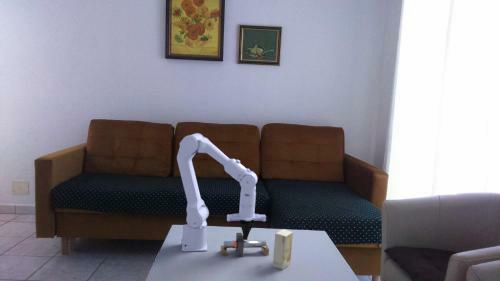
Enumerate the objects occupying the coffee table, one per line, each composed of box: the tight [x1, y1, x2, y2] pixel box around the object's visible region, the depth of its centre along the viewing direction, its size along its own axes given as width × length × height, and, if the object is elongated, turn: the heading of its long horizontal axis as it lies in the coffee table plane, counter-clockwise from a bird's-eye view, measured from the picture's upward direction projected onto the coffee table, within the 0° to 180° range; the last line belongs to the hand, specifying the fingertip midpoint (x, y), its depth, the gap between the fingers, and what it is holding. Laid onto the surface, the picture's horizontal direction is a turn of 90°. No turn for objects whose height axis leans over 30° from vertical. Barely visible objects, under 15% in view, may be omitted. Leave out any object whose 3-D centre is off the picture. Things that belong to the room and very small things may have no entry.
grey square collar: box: [235, 232, 245, 257], centre depth 132 cm, size 2×6×7 cm, turn 10°
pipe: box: [220, 240, 270, 257], centre depth 133 cm, size 18×4×5 cm, turn 100°
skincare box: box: [272, 228, 294, 270], centre depth 125 cm, size 6×4×12 cm
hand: (245, 238), depth 132 cm, fingers closed
